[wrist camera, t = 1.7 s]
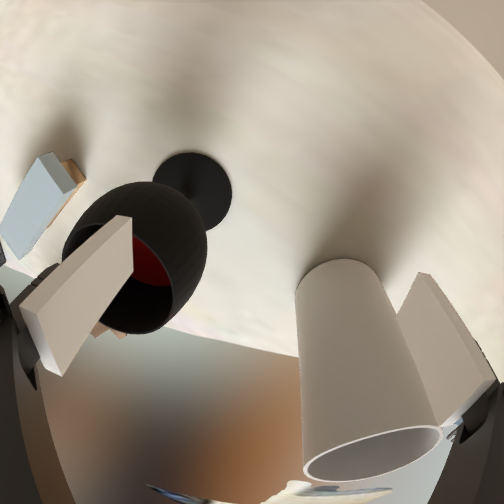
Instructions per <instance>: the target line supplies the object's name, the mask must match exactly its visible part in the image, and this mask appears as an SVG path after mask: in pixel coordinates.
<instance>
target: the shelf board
mask: <svg viewBox="0 0 504 504" xmlns="http://www.w3.org/2000/svg"><path fill="white" fill-rule="evenodd" d="M77 187H78V186H77V185H76V183H75V182H74V181H73V179H72V178H71V177H70V175H69V174H68V172H67V171H66V170H65V168H64V167H63V165H62V164H61V162H60V161H59V160H58V158H57V157H56V155H55V154H54V152H50V153H47V154H44V155H41V156H38V157H37V158H36V160H35V162H34V163H33V165H32V166H31V168H30V170H29V171H28V173H27V175H26V177H25V178H24V180H23V182H22V183H21V185H20V187H19V189H18V191H17V193H16V194H15V196H14V198H13V200H12V202H11V204H10V206H9V208H8V210H7V212H6V214H5V216H4V218H3V220H2V223H1V225H0V234H1V236H2V237H3V239H4V240H5V242H6V243H7V245H8V246H9V247H10V249H11V250H12V252H13V253H14V254H15V256H16V257H17V258H18V260H20V259H21V258H23V257H24V256H25V255H26V254H28V253H29V252H30V251H31V250H32V248H33V247H34V245H35V243H36V242H37V240H38V239H39V238H40V236H41V235H42V233H43V232H44V230H45V229H46V227H47V226H48V225H49V223H50V222H51V220H52V219H53V218H54V216H55V215H56V214H57V212H58V211H59V210H60V208H61V207H62V206H63V204H64V203H65V202H66V201H67V199H68V198H69V197H70V195H71V194H72V193H73V192H74V191H75V189H76V188H77Z"/></svg>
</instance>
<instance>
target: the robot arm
mask: <svg viewBox="0 0 504 504" xmlns="http://www.w3.org/2000/svg"><path fill="white" fill-rule="evenodd" d="M132 273H133V250H132V218H131V217H125V216H119V215H116V216H115V217H114V218H113V219H112V220H110V221H109V222H108V223H107V224H105V225H104V226H103V227H102V228H101V229H99V230H98V231H97V232H96V233H95V234H94V235H92V236H91V237H90V238H89V239H88V240H87V241H85V242H84V243H83V244H82V245H81V246H80V247H79V248H78V249H76V250H75V251H74V252H73V253H72V254H71V255H70V256H69V257H68V258H67V259H65V260H64V261H63V262H62V263H61V264H59V263H56V264H54V265H52V266H50V267H48V268H46V269H45V270H44V271H43V272H42V273H41V274H40V275H38V276H37V278H35V279H34V280H33V281H32V282H31V285H28V286H27V287H26V288H25V289H24V290H23V291H22V292H21V293H20V294H19V295H18V296H17V297H16V298H15V299H14V300H13V301H12V302H11V304H10V305H9V303H8V300H7V297H6V294H5V291H4V289H3V287H2V286H1V285H0V504H76V503H75V501H74V498H73V496H72V493H71V491H70V489H69V486H68V484H67V481H66V478H65V476H64V473H63V471H62V468H61V465H60V462H59V459H58V456H57V452H56V450H55V446H54V443H53V439H52V436H51V432H50V428H49V424H48V421H47V416H46V412H45V408H44V402H43V398H42V392H41V387H40V381H39V375H38V370H37V367H36V365H35V364H36V362H37V361H38V360H39V358H40V359H41V361H42V363H43V365H44V367H45V369H47V370H49V371H51V372H53V373H56V374H58V375H60V376H63V374H64V373H65V371H66V370H67V368H68V367H69V365H70V363H71V362H72V360H73V358H74V357H75V355H76V354H77V352H78V351H79V349H80V347H81V346H82V344H83V343H84V341H85V340H86V338H87V337H88V335H89V334H90V332H91V331H92V329H93V328H94V326H95V325H96V323H97V322H98V320H99V319H100V317H101V316H102V314H103V313H104V311H105V310H106V309H107V307H108V306H109V304H110V303H111V301H112V300H113V299H114V297H115V296H116V294H117V293H118V292H119V290H120V289H121V287H122V286H123V285H124V283H125V282H126V281H127V279H128V278H129V277H130V275H131V274H132ZM395 318H396V320H397V322H398V324H399V326H400V329H401V331H402V333H403V335H404V338H405V340H406V342H407V345H408V347H409V350H410V352H411V354H412V357H413V359H414V362H415V364H416V367H417V369H418V372H419V374H420V377H421V380H422V382H423V385H424V388H425V390H426V393H427V396H428V399H429V401H430V404H431V407H432V410H433V413H434V416H435V419H436V422H437V425H438V428H439V427H444V426H450V425H452V424H454V423H455V422H456V421H457V420H458V419H459V418H460V417H461V416H462V418H463V421H464V422H462V423H461V424H460V425H459V426H458V427H457V428H456V429H455V430H454V431H452V432H451V433H450V434H449V435H448V436H447V439H449V438H451V437H452V436H453V435H456V436H455V438H454V439H452V440H451V442H453V445H452V447H451V450H450V453H449V456H448V458H447V461H446V464H445V466H444V469H443V471H442V473H441V476H440V478H439V481H438V483H437V485H436V487H435V489H434V491H433V493H432V496H431V498H430V500H429V502H428V504H504V382H502V383H501V384H500V382H499V381H498V379H497V377H496V375H495V373H494V371H493V369H492V367H491V366H490V364H489V362H488V360H487V359H485V358H486V357H485V355H484V353H483V352H481V351H482V350H481V348H480V346H479V345H478V343H477V341H476V340H475V339H474V338H473V337H472V335H471V333H470V332H469V330H468V329H467V327H466V326H465V324H464V322H463V321H462V319H461V318H460V316H459V315H458V313H457V312H456V310H455V309H454V307H453V306H452V304H451V303H450V301H449V300H448V298H447V297H446V296H445V294H444V293H443V291H442V290H441V289H440V287H439V286H438V284H437V283H436V282H435V280H434V279H433V278H432V276H431V275H430V274H425V273H420V272H418V274H417V276H416V278H415V280H414V282H413V284H412V287H411V289H410V291H409V293H408V295H407V297H406V299H405V300H404V302H403V304H402V306H401V308H400V310H399V312H398V314H397V316H396V317H395Z"/></svg>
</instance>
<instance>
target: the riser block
mask: <svg viewBox="0 0 504 504" xmlns="http://www.w3.org/2000/svg"><path fill="white" fill-rule="evenodd" d="M61 164H62V165H63V167H64V168H65V170H66V171H67V172H68V174H69V175H70V177H71V178H72V179H73V181H74V182H75V183H76V185H77V186H78V187H77V188H76V189H75V191H74V192H73V193H72V194H71V195H70V197H69V198H68V199H67V201H66V202H65V203H64V204H63V206H62V207H61V208H60V210H59V211H58V212H57V214H56V215H55V216H54V218H53V219H52V220H51V222H50V223H49V225H48V226H47V227H46V228H48V227H49V226H50V225H51V224H52V222H53V221H54V220H55V218H56V217H57V216H58V214H59V213H60V212H61V210H62V209H63V208H64V206H65V205H66V204H67V203H68V201H69V200H70V199H71V198H72V196H73V195H74V194H75V193H76V191H77V190H78V189H79V188H80V187H81V185H82V184H83V183H84V182H85V181H86V178H85V177H84V176H83V174H82V173H81V172H80V170H79V169H78V167H77V166H76V165H75V163H74V162H73V161H72V159H70V160H67V161H65V162H62V163H61Z"/></svg>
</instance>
